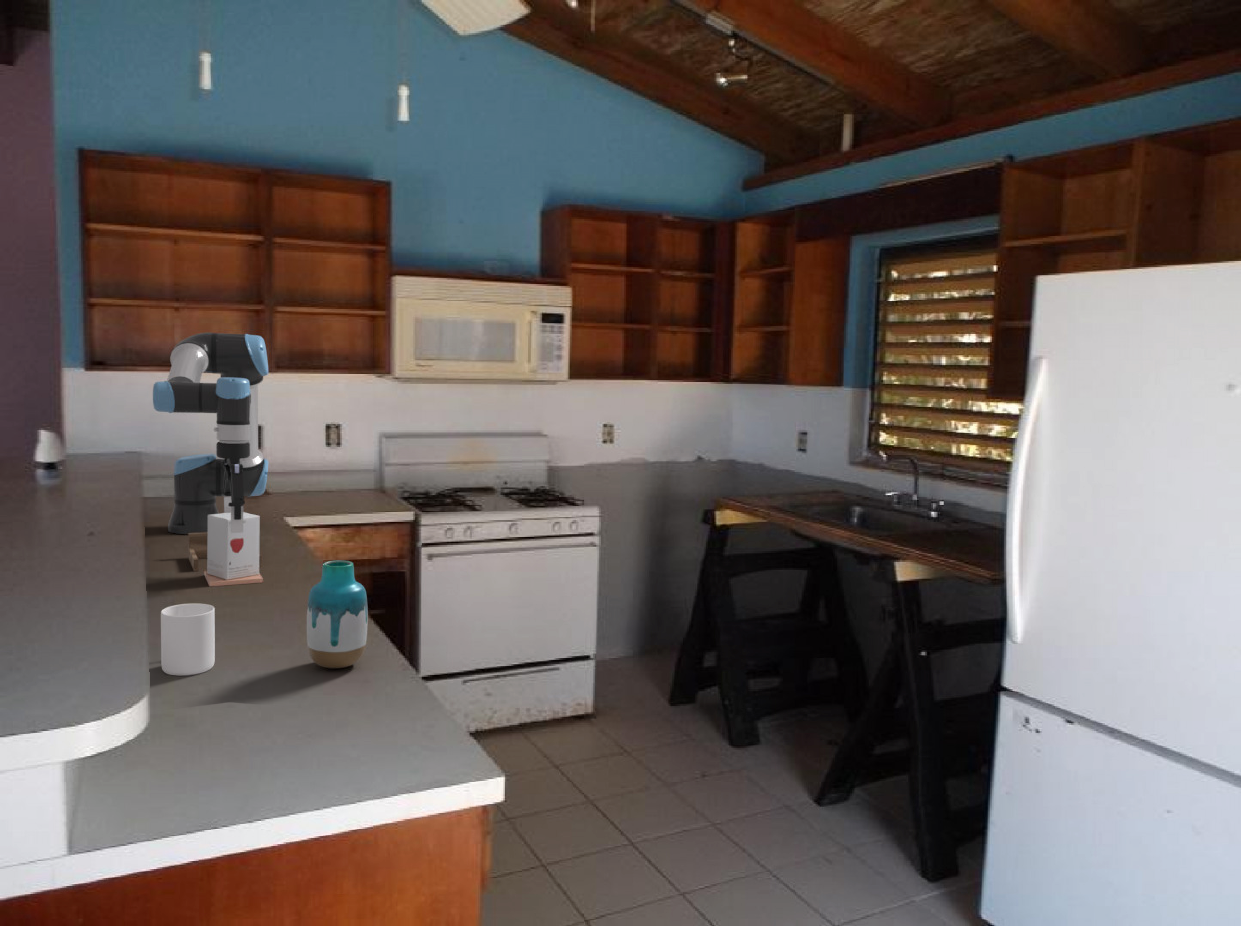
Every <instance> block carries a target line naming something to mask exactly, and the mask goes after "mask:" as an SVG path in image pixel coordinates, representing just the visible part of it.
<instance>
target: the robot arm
mask: <svg viewBox="0 0 1241 926" xmlns="http://www.w3.org/2000/svg"><path fill="white" fill-rule="evenodd" d="M169 360H170V364H171V367H170V370H169V373H168V376H167V379H166V380H164V381H156V382H155V383H154V384H153V387H152V405H153V409H154V410H155V411H156V412H160V413H161V412H162V413H169V414H172V413H175V414H176V413H181V414H182V413H183V414H184V413H185V414H188V413H189V414H190V413H192V414H196V413H197V414H199V413H200V414H201V413H202V414H216V427H214V428H213V431H214V432H216V440H217V441H218V442H216V443H215V444H216V446H215V447H216V451H215V452H216V453H215V454H214V453H203V454H202V453H201V454H194V455H188V456H182V457H179V458H178V459H176V460H175V462H174V468H173V470H174V471H173V477H174V480H173V481H174V482H173V483H174V484H173V485H174V486H173V491H174V492H173V495H174V506H173V510H172V512H171V515H170V519H169V520H168V524H167V525H168V526H167V530H168V532H169V533H172V534H177V535H188V533H201V532H208V515H211V514H220V513H219V510H218V507H217V497H223V513H231V533H242V532H243V512H244V505H245V503H246V502H245V497H248V498H250V497H256V496H262V495H264V493H265V491H266V487H267V481H268V472H269V460H268V459H267V458H264V454H263V452H262V451H261V450H259V385H260V384H261V383H262V382H263V380H264V377H266V376H268V375H269V364H268V362H269V361H268V354H267V348H266V343H265V339H264V338H263V337H262V336H261V335H256V334H248V333H226V332H225V333H219V332H217V333H216V332H201V333H196V334H193V335H190V336H188V337H186V338H184V339H183V340H181V341H180V342H178V343H177V344H176V345H175V346H174V347H173V348H172V350H171V353H170V358H169ZM203 374H212V375H213V374H214V375H215V374H217V375H220V377H219V378H217V379H216V382H215V383H214V382H201V379H202V375H203Z"/></svg>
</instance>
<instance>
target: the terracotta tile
mask: <svg viewBox="0 0 1241 926" xmlns="http://www.w3.org/2000/svg"><path fill="white" fill-rule="evenodd" d="M204 577H205V579H206V582H207V584H208V586H209V587H220V586H235V585H245V584H246V585H248V584H259V583H261V584H262V583H264V578H263V576H262V574H261V573H260V572H259V575H253V576H247V577H241V578H235V579H229V580H225V579H222V578H219V577H216V576H213V575H210V574H207V570H204Z"/></svg>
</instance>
